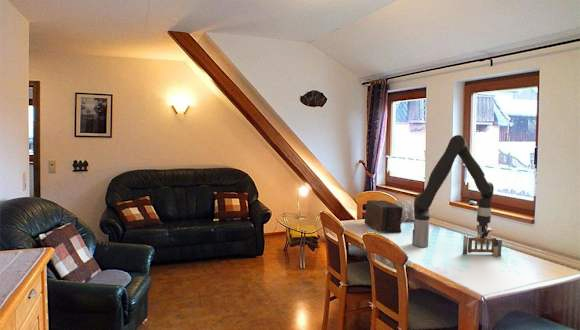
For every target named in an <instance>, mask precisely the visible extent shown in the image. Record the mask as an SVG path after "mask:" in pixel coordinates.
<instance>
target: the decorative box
mask: <svg viewBox="0 0 580 330" xmlns="http://www.w3.org/2000/svg"><path fill="white" fill-rule="evenodd" d="M365 204H366V205H365V206H366V207H365V213H364V214H365V215H364V224H366V225H368V226H369V227H371V228H373V229H374V230H376V231H378V232H380V233H390V234H391V233H393V234H394V233H395V234H396V233H402V229H401V225H402V211H403V208H402V207H400V206H398V205H396V204H395V203H393V202H390V201H387V200H373V199H372V200H371V199H370V200H366V203H365Z"/></svg>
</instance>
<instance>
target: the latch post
mask: <svg viewBox="0 0 580 330" xmlns="http://www.w3.org/2000/svg"><path fill="white" fill-rule="evenodd" d="M502 244H503V239H501V238H496V246H493V251H492V253H491V254H492V255H491V256H492V257H496V258H497V257H499V256H502V246H503V245H502Z"/></svg>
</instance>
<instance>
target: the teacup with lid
mask: <svg viewBox="0 0 580 330" xmlns="http://www.w3.org/2000/svg"><path fill="white" fill-rule="evenodd" d="M488 230H489V233H488V235H487V237H485V238H492V232H493V229H492V228H491V227H489V226H488ZM476 232H477V233H476V238H480V235H479V234H478V230H477V231H476ZM477 243H481V242H480V241H478V242H477ZM486 243H487V241H484V243H483V244H486ZM489 244H492V241H489Z"/></svg>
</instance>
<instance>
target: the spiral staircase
mask: <svg viewBox="0 0 580 330" xmlns="http://www.w3.org/2000/svg"><path fill="white" fill-rule="evenodd" d="M394 204H396V205H398V206H400V207H402V208H403V211H402V218H401V220H402V221H403V222H405V221H407V218H408V220H409V221H411V222H413V221H414V199H411V201H410V200H408V199H405V200H400V199H398V200H397V201H395V203H394Z"/></svg>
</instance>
